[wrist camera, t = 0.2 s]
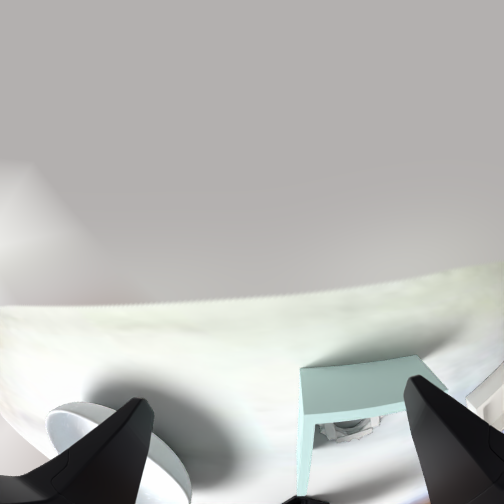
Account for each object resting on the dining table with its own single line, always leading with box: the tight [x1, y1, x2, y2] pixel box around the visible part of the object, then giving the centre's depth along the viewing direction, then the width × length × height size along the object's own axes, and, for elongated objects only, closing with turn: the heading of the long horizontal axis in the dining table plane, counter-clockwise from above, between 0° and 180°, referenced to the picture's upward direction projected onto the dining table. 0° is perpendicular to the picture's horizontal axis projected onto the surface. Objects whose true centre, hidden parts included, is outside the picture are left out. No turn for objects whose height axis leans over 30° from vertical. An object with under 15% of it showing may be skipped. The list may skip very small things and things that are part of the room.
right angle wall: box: [297, 355, 448, 496], centre depth 20 cm, size 12×12×8 cm
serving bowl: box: [45, 402, 192, 504], centre depth 24 cm, size 21×21×7 cm
